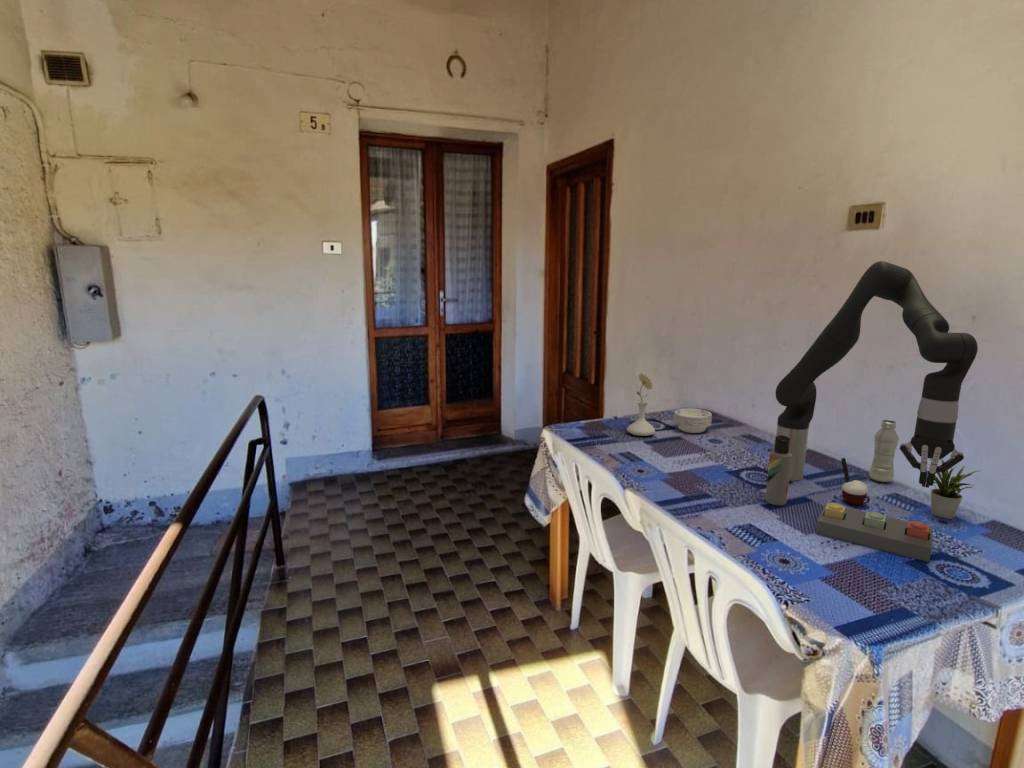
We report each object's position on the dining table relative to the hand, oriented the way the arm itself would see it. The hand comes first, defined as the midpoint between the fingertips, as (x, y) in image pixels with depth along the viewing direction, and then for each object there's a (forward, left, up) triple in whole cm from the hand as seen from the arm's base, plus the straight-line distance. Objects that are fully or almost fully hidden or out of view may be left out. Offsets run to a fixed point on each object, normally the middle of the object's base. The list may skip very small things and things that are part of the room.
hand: (925, 486), depth 137 cm
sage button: (-9, 0, -13) cm, 16 cm away
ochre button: (-18, 0, -13) cm, 22 cm away
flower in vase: (-95, +48, -16) cm, 108 cm away
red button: (0, 0, -14) cm, 14 cm away
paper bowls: (-80, +66, -16) cm, 105 cm away
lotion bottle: (-34, +8, -16) cm, 39 cm away
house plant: (+4, +28, -16) cm, 33 cm away
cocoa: (-16, +22, -16) cm, 32 cm away
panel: (-9, 0, -16) cm, 18 cm away
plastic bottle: (-11, +47, -16) cm, 51 cm away
